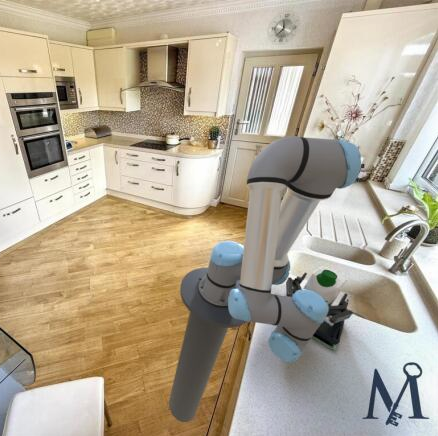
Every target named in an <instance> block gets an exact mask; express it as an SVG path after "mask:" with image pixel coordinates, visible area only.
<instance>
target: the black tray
mask: <svg viewBox="0 0 438 436" xmlns="http://www.w3.org/2000/svg"><path fill="white" fill-rule="evenodd" d="M294 293H295V291H294V289H293V293H292V294H294ZM345 301H346V302H348V303H349V298H346V299H345ZM334 315H336V314H327V316H326V317H328V316H329V317H330V316H334ZM345 321H346V320H343V321H340V322H337V323H335V324H333V326H332V327H329V326H328V325H327V324H328V323H327V322H325V321H324V322H323V323H321V325H320V326H319V327H318V329H317V330H316V332H315V333H314V334H313V336H312V338H311V339H312V340H314V341H315V342H317V343H319V344H321V345H322V346H324V347H325V348H327V349H329V350H330V351H331V352H335V351H336V348H337V345H339V344H340V342H341V337H342V333H343V329H344V325H345Z"/></svg>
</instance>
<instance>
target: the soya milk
mask: <svg viewBox="0 0 438 436" xmlns="http://www.w3.org/2000/svg"><path fill="white" fill-rule="evenodd" d="M347 280H348V278H346V277H344V276H342V275H341V274H339V273H337V272H335V271H333V270H331V269H329V268H328V267H325V266H324V265H322V266H320V267H318V268H317V269H316V270H314V272H312V273H311V275H310V277H309V278H308V280H307V281H306V283H305V285H304V287H303V288H302V289H306V290H310V291H313V292H315V293H317V294H318V295H320V296H321V297H322V298H323V299H324V300H325V302H326V303H327V304H328V306H333V305H334V303H335V301H336V299H337V298H338V296H339V295H340V294H341V292H342V291H343V288H344V286H345V284H346V282H347Z"/></svg>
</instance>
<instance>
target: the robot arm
mask: <svg viewBox="0 0 438 436" xmlns="http://www.w3.org/2000/svg"><path fill="white" fill-rule="evenodd" d="M361 167H362V155H361V151H360V150H359V148H358V146H357V145H356V144H355V143H353V142H350V141H344V140H339V139H337V138H336V139H335V138H333V139H331V138H317V137H306V136H305V137H303V136H297V135H288V136H283V137H280V138H278V139H275V140H273V141H271V142H270V143H268V144H267V145H266V146H265V147H264V148H263V149H262V150H261V151H260V152H259V153H258V154H257V155H256V157H255V158H254V160H253V162H252V164H251V166H250V168H249V170H248V173H247V178H246V186H245V187H246V189H248V190H249V196H248V204H247V215H246V224H245V233H244V243H243V244H241V243H238V242H236V241H231V240H223V241H220V242H218V243H217V244H215V245H214V246H213V248H212V251H211V254H210V258H209V261H208V266H207V268H208V270H207V273H206V275H205V276H204V277H203V278H199V280H201V281H200V283H199V287H198V291H199V294H200V296H201V297H202V298H203V299H204V300H205V301H206V302H207V303H209V304H211V305H213V306H216V307H222V308H224V307H228V309H229V313H230V315H231V316H232V317H233V318H235V319H240V320H244V321H248V323H257V324H262V325H263V324H265V325H271V326H276V327H275V329H274V330H273V331H272V332H271V334H270V336H269V337H268V340H267V342H268V346H269V349H270V351H271V352H272V353H273V354H274V356H277V357H278V358H279V359H280V360H282V361H284V362H287V363H294V362H296V361H298V359H299V358H300V357H301V356H302V354H303V351H304V350H305V349H306V347H307V346H308V344H309V342H310V341H311V339H312V336H313V334H314V333H315V332H316V330H317V329H318V327H319V326H320V325H321V323H323V322H324V321H325V322H327V323H328V324H327V325H328V326H329V327H332V326H333V324H335V323H337V322H340V321H343V320H345V321H346V320H349V319H350V318H351V316H352V315H353V314H354V311H353V310H351V309H348V306H349V301H348V302H346V300H347V297H348V295H349V294H348V293H346V292H345V293H344V294H343V295H342V297H341V299H340V300H339V303H338V304H337V305H331V306H328V304H327V303H326V302H325V300H324V299H323V298H322V297H321V296H320V295H318V294H317V293H315V292H313V291H310V290H306V289H303V288H302V286H301V284H302V283H303V281H304V280H305V279H306V277H307V275H308V273H307V272H304V273H303V274H302V276H296V277H295V278H294V279H293V278H292V277H290V276H289V275H290V271H291V262H290V260H289V255H288V254H289V252H290V250H291V249H292V247H293V245H294V244H295V242H296V240H297V239H298V238H299V236H300V234H301V232H302V231H303V229H304V228H305V226H306V225H307V223H308V221H309V220H310V218H311V217H312V215H313V213H314V212H315V210H316V209H317V207H318V205H319V204H320V202H322V201H325V200H328V199H330V198H331V197H332V196H333V194H334V192H335V191H336V189H339V190H340V189H341V190H342V189H346V188H347V187H350V186H351V185H352V184H354V183H355V181H356V180H357V179H358V177H359V175H360V171H361ZM285 191H286V192H285ZM283 192H285V194H284V196H283ZM282 196H283V198H282ZM237 280H240V286H239V289H236V282H237ZM283 283H285V291H286V293H285V295H279V294H275V293H274V294H273V293H272V287H273V286H280V285H282V284H283ZM293 289H294V291H295V293H294V294H292V293H293ZM327 314H336V315H334V316H330V317H329V316H328V317H326V316H327Z"/></svg>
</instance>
